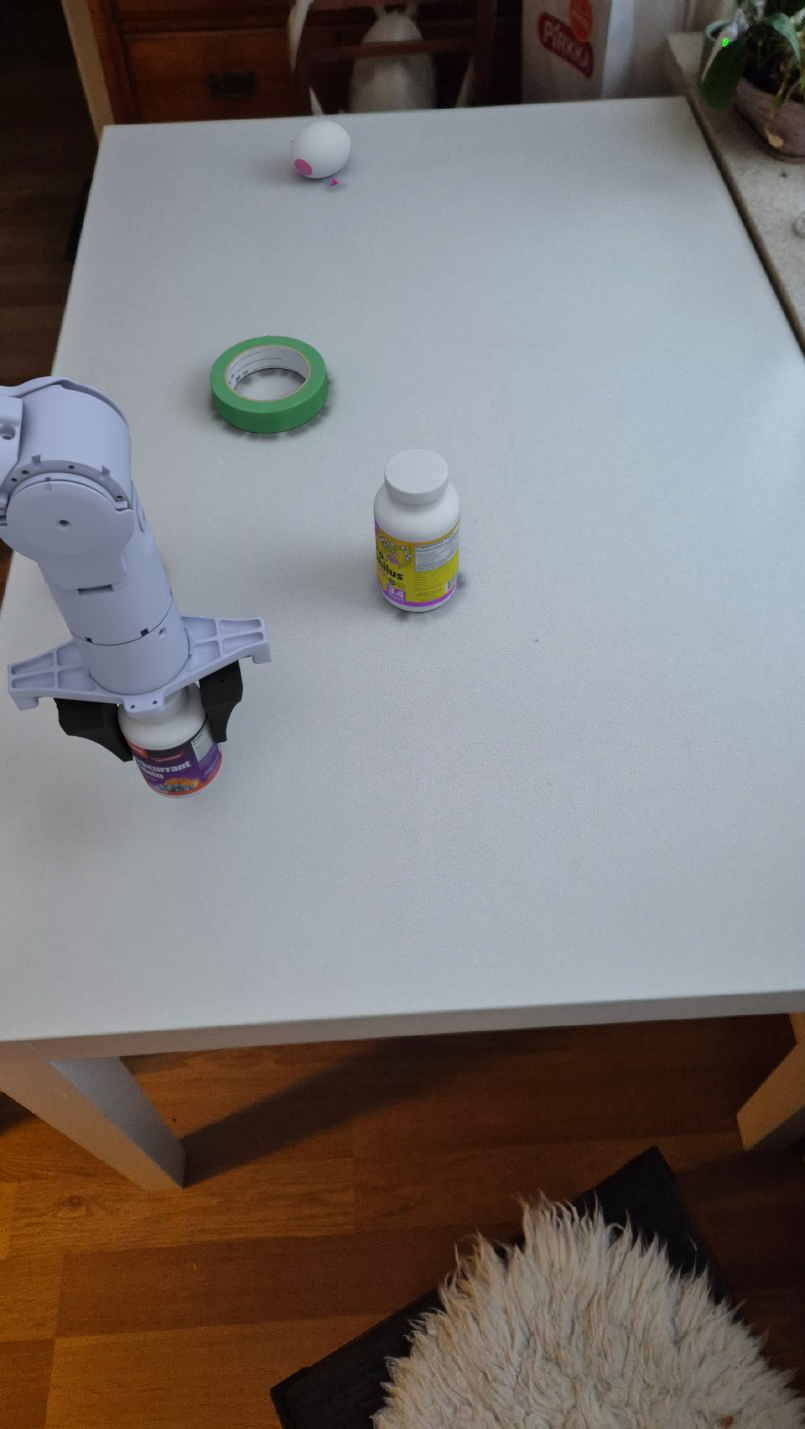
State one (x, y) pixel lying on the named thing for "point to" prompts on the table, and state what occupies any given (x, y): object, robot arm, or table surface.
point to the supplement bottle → (417, 531)
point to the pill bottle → (175, 745)
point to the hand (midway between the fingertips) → (172, 739)
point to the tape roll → (276, 411)
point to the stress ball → (320, 150)
